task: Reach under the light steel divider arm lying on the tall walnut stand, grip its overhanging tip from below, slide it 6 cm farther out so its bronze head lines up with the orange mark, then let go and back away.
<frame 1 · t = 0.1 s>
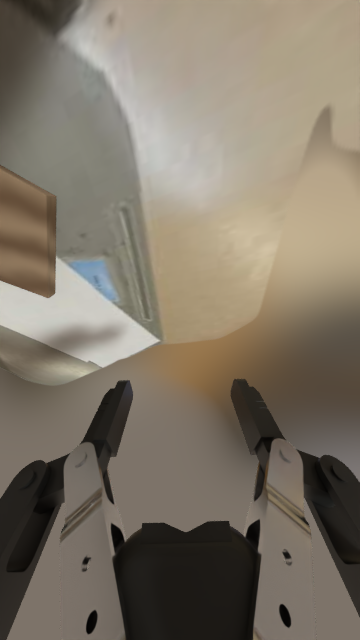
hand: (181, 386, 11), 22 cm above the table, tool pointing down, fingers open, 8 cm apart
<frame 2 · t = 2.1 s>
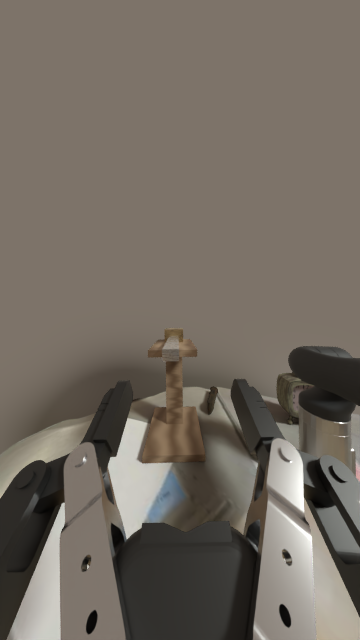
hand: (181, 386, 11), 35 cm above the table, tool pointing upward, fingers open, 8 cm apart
stand: (174, 431, 51), on the table
tabletop clock: (300, 420, 55), on the table
hand tool: (213, 403, 68), on the table
divider arm: (174, 341, 56), point 32 cm above the table, touching stand
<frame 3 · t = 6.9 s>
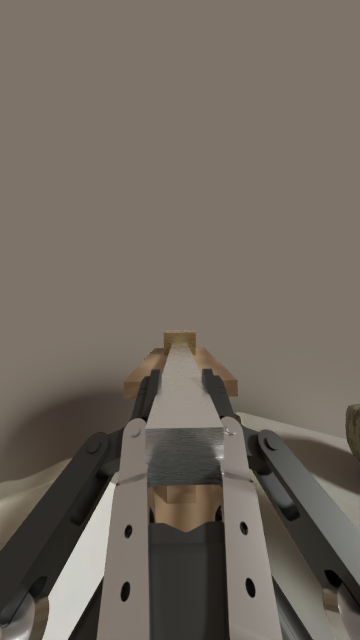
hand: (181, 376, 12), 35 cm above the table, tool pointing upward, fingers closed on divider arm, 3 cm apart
stand: (181, 520, 28), on the table
divider arm: (179, 352, 33), point 32 cm above the table, touching gripper, stand
when the fingers open (35 cm above the table, at t = 10.5 s): divider arm stays where it is, resting on stand.
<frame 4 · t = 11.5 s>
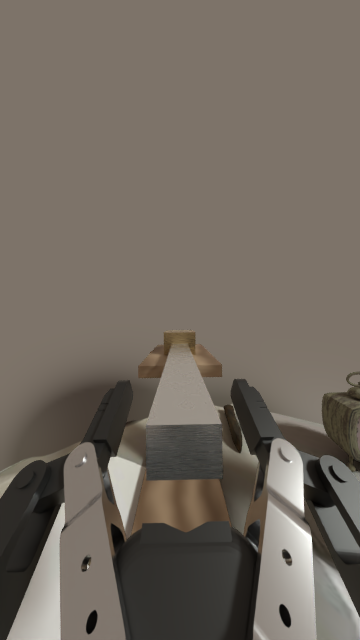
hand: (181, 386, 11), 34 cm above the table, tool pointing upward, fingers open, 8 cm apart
stand: (181, 483, 34), on the table
hand tool: (235, 430, 51), on the table
divider arm: (179, 352, 33), point 32 cm above the table, touching stand
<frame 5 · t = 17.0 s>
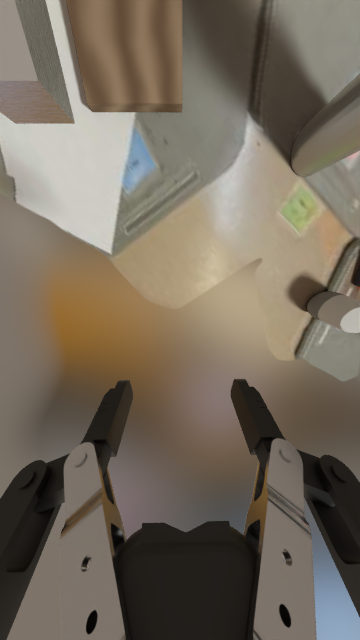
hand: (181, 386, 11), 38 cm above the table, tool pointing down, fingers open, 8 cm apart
stand: (127, 4, 23), on the table
smart speaker: (317, 302, 49), on the table
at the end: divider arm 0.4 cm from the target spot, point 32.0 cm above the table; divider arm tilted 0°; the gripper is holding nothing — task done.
